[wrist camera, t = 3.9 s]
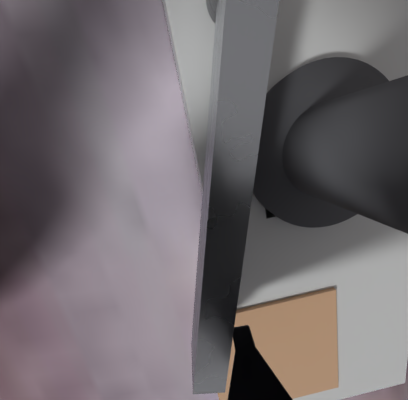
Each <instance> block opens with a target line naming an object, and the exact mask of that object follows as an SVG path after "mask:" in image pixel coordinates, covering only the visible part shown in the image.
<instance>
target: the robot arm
mask: <svg viewBox="0 0 408 400" xmlns="http://www.w3.org/2000/svg"><path fill="white" fill-rule="evenodd" d="M233 341H234V347H235V355H234V362H233V368H232V375H231V381H230V387H229V394H228V400H293V399H292V398H291V396H290V395H289V394H288V392H287V391H286V389H285V388H284V386H283V385H282V384H281V382H280V381H279V379H278V378H277V377H276V375H275V374H274V372H273V371H272V369H271V368H270V367H269V365H268V364H267V362H266V361H265V359H264V358H263V357H262V355H261V354H260V352H259V351H258V350H257V348H256V346H255V343H254V340H253V336H252V333H251V330H250V327H249V325H244V326H238V327H234V332H233Z"/></svg>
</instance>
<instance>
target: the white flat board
mask: <svg viewBox="0 0 408 400" xmlns="http://www.w3.org/2000/svg"><path fill="white" fill-rule="evenodd" d="M162 3H163V7H164V12H165V17H166V22H167V27H168V32H169V36H170V41H171V46H172V51H173V56H174V61H175V65H176V70H177V75H178V80H179V85H180V90H181V94H182V99H183V104H184V109H185V114H186V119H187V123H188V128H189V133H190V138H191V143H192V148H193V152H194V157H195V162H196V167H197V172H198V176H199V181H200V186H201V191H202V195H203V181H204V168H205V155H206V141H207V128H208V114H209V101H210V88H211V74H212V61H213V48H214V34H215V23H214V22H213V21H212V19H211V17H210V15H209V13H208V10H207V5H206V0H162ZM331 57H347V58H352V59H357V60H360V61H363V62H365V63H368V64H369V65H371V66H373V67H374V68H376V69H377V70H379V71H380V72H381V73H382V74H383V75H384V76H385V77H386V78H387V79H388V80H389V81H391V80H394V79H398V78H401V77H404V76H407V75H408V0H279V6H278V13H277V21H276V28H275V35H274V42H273V50H272V57H271V64H270V71H269V79H268V86H267V92H268V91H269V90H270V89H271V88H272V87H273V86H274V85H275V84H277V83H278V82H279V81H280V80H282V79H283V78H284V77H286V76H287V75H288V74H290V73H291V72H293V71H295V70H296V69H298V68H300V67H301V66H303V65H306V64H308V63H310V62H313V61H316V60H320V59H324V58H331ZM266 94H267V93H266ZM244 325H249V327H250V330H251V333H252V336H253V340H254V343H255V346H256V348H257V350H258V351H259V352H260V354H261V355H262V357H263V358H264V359H265V361H266V362H267V364H268V365H269V367H270V368H271V369H272V371H273V372H274V374H275V375H276V377H277V378H278V379H279V381H280V382H281V384H282V385H283V386H284V388H285V389H286V391H287V392H288V394H289V395H290V396H291V398H292V399H293V400H340V399H344V398H348V397H352V396H356V395H360V394H364V393H368V392H372V391H375V390H379V389H383V388H387V387H391V386H395V385H399V384H403V383H405V378H406V368H407V358H408V234H407V233H404V232H402V231H399V230H397V229H394V228H392V227H389V226H387V225H384V224H382V223H379V222H377V221H374V220H372V219H369V218H367V217H364V216H362V215H359V214H357V215H355V216H353V217H351V218H350V219H348V220H345V221H343V222H340V223H338V224H334V225H331V226H325V227H316V228H309V227H301V226H296V225H293V224H290V223H287V222H285V221H283V220H281V219H279V218H278V217H276V216H275V215H274V214H272V213H271V212H270V211H268V210H267V209H266V208H265V207H264V206H263V205H262V204H261V203H260V202H259V201H258V199H257V198H256V197H255V195H254V194H253V195H252V202H251V209H250V216H249V224H248V231H247V238H246V245H245V253H244V260H243V267H242V274H241V282H240V289H239V296H238V303H237V311H236V318H235V325H234V327H238V326H244ZM234 355H235V347H234V341H233V340H232V347H231V354H230V361H229V369H228V376H227V383H226V390H225V393H218V396H219V400H228V394H229V387H230V381H231V375H232V368H233V362H234Z"/></svg>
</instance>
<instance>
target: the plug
mask: <svg viewBox="0 0 408 400" xmlns="http://www.w3.org/2000/svg"><path fill="white" fill-rule="evenodd" d="M253 194H254V195H255V197H256V198H257V199H258V201H259V202H260V203H261V204H262V205H263V206H264V207H265V208H266V209H267V210H268V211H270V212H271V213H272V214H274V215H275V216H276V217H278V218H279V219H281V220H283V221H285V222H287V223H290V224H293V225H296V226H301V227H309V228H316V227H325V226H331V225H334V224H338V223H340V222H343V221H345V220H348V219H350V218H351V217H353V216H355V215H357V214H359V215H362V216H364V217H367V218H369V219H372V220H374V221H377V222H379V223H382V224H384V225H387V226H389V227H392V228H394V229H397V230H399V231H402V232H404V233H407V234H408V75H407V76H404V77H401V78H398V79H394V80H391V81H389V80H388V79H387V78H386V77H385V76H384V75H383V74H382V73H381V72H380V71H379V70H377V69H376V68H374V67H373V66H371V65H369V64H368V63H365V62H363V61H360V60H357V59H352V58H347V57H331V58H324V59H320V60H316V61H313V62H310V63H308V64H306V65H303V66H301V67H300V68H298V69H296V70H295V71H293V72H291V73H290V74H288V75H287V76H286V77H284V78H283V79H282V80H280V81H279V82H278V83H277V84H275V85H274V86H273V87H272V88H271V89H270V90H269V91H268V92H267V94H266V100H265V108H264V115H263V122H262V129H261V137H260V144H259V151H258V158H257V166H256V173H255V180H254V187H253Z"/></svg>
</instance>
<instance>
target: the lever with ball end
mask: <svg viewBox="0 0 408 400" xmlns="http://www.w3.org/2000/svg"><path fill="white" fill-rule="evenodd" d="M206 5H207V10H208V13H209V15H210V17H211V19H212V21H213V22H214V23H215V34H214V48H213V61H212V74H211V88H210V101H209V114H208V128H207V141H206V155H205V168H204V181H203V195H202V208H201V221H200V235H199V248H198V261H197V275H196V288H195V302H194V315H193V328H192V342H191V347H192V380H193V394H206V393H225V390H226V383H227V376H228V369H229V361H230V354H231V347H232V340H233V332H234V325H235V318H236V311H237V303H238V296H239V289H240V282H241V274H242V267H243V260H244V253H245V245H246V238H247V231H248V224H249V216H250V209H251V202H252V195H253V187H254V180H255V173H256V166H257V158H258V151H259V144H260V137H261V129H262V122H263V115H264V108H265V100H266V93H267V86H268V79H269V71H270V64H271V57H272V50H273V42H274V35H275V28H276V21H277V13H278V6H279V0H206Z"/></svg>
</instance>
